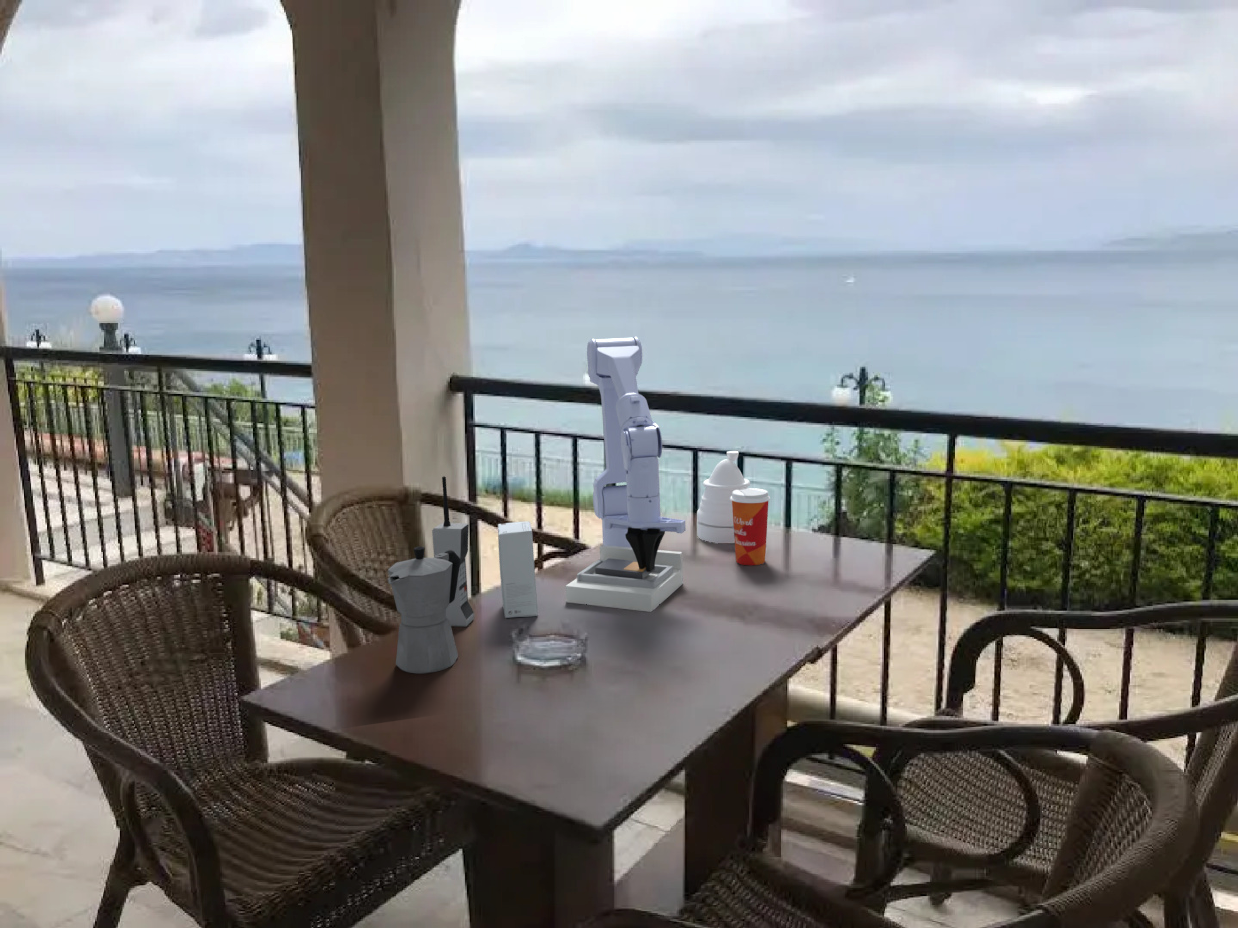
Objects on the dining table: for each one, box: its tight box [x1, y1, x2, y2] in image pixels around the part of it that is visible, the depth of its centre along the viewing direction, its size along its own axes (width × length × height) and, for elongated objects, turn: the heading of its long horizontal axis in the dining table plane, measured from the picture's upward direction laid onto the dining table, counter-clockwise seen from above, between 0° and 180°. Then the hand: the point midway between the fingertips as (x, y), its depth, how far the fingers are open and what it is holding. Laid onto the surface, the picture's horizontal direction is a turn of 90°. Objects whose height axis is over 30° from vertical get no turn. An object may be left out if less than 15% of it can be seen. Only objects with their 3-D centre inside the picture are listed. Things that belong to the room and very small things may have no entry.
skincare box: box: [497, 520, 539, 619], centre depth 172 cm, size 8×6×15 cm
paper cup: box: [730, 487, 771, 566], centre depth 195 cm, size 8×8×14 cm
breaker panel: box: [565, 544, 684, 613], centre depth 180 cm, size 16×16×6 cm
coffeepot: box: [387, 545, 460, 674], centre depth 150 cm, size 15×9×18 cm, turn 150°
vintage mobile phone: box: [431, 475, 475, 628], centre depth 165 cm, size 4×5×25 cm
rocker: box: [595, 558, 655, 579], centre depth 179 cm, size 6×9×1 cm, turn 67°
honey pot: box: [696, 450, 751, 544], centre depth 214 cm, size 13×13×18 cm
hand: (646, 569), depth 178 cm, fingers closed, pressing on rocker
